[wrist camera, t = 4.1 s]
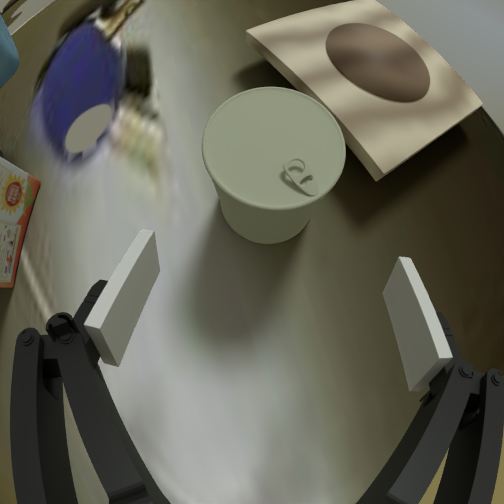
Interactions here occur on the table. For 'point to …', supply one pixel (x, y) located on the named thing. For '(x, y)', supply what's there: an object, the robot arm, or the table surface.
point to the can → (272, 160)
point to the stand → (368, 78)
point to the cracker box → (13, 216)
